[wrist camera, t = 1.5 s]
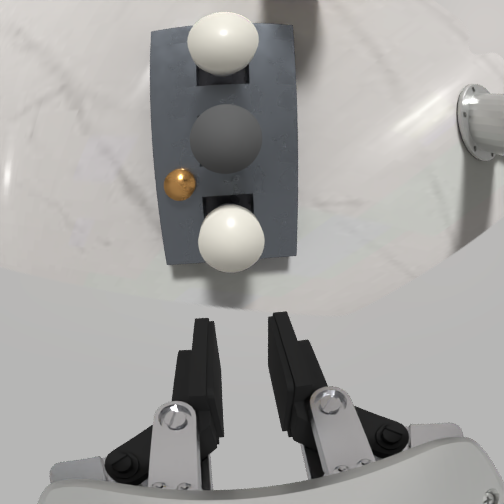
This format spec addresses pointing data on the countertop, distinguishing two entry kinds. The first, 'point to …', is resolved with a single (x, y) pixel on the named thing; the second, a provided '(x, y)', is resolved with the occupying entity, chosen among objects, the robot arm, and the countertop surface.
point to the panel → (216, 184)
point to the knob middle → (226, 139)
